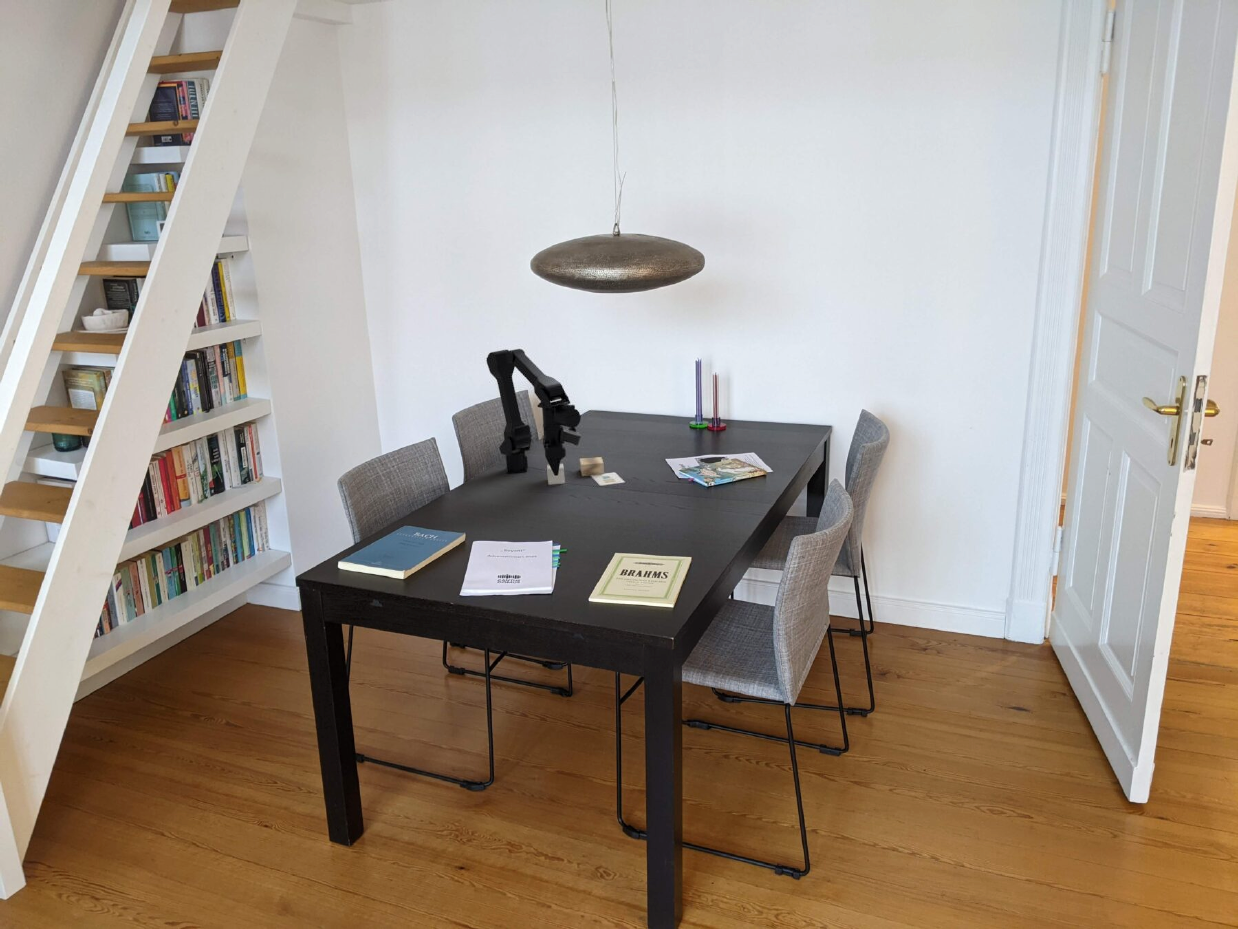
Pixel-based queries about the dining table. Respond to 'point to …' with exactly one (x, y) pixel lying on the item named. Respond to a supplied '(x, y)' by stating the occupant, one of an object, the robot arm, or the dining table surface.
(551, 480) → the white cube
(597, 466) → the oak base
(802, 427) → the dining table surface
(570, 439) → the robot arm
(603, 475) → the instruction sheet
